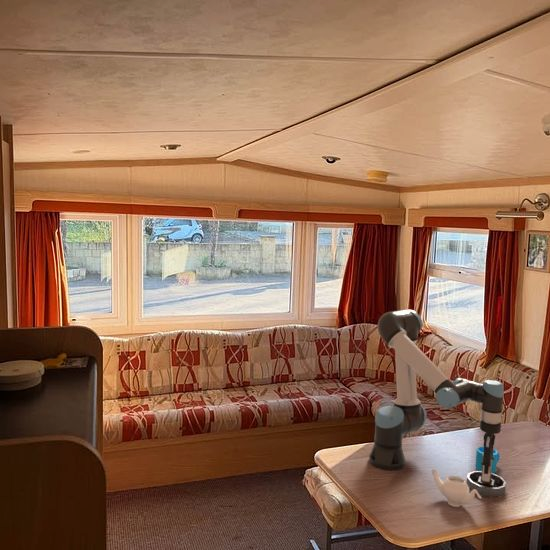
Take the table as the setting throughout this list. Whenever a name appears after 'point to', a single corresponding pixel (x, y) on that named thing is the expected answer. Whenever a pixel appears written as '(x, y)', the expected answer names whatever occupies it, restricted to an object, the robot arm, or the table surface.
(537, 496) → the table surface
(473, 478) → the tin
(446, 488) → the teapot
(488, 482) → the square wooden stick
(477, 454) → the mug
